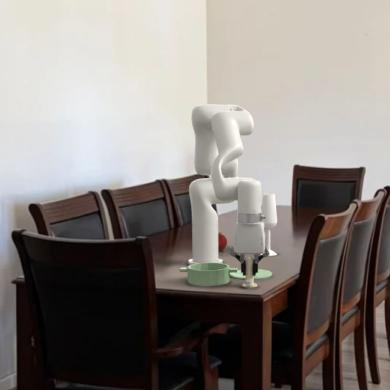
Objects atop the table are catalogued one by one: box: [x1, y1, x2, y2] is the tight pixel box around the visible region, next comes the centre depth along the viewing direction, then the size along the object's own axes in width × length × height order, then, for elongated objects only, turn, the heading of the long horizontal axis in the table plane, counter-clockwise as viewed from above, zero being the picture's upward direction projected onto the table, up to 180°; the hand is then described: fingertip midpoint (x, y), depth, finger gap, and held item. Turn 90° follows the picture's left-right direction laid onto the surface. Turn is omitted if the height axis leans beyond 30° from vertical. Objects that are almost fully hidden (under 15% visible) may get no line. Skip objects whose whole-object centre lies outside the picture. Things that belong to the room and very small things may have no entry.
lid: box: [230, 260, 273, 280], centre depth 268 cm, size 14×14×6 cm
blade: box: [241, 256, 258, 288], centre depth 252 cm, size 8×5×10 cm, turn 0°
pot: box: [179, 262, 239, 287], centre depth 258 cm, size 13×19×6 cm
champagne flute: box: [259, 192, 278, 257], centre depth 309 cm, size 7×7×24 cm
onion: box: [218, 231, 228, 252], centre depth 315 cm, size 6×6×8 cm
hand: (249, 274), depth 252 cm, fingers closed on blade, 2 cm apart
